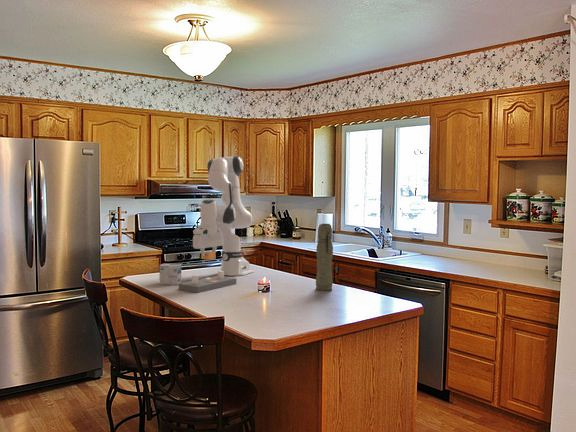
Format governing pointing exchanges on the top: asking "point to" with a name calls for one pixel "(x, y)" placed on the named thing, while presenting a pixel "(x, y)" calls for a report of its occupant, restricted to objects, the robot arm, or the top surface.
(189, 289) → the breaker panel
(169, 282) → the light bulb box
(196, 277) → the outer breaker
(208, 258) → the lockout cap
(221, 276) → the inner breaker
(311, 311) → the top surface
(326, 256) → the thermos
